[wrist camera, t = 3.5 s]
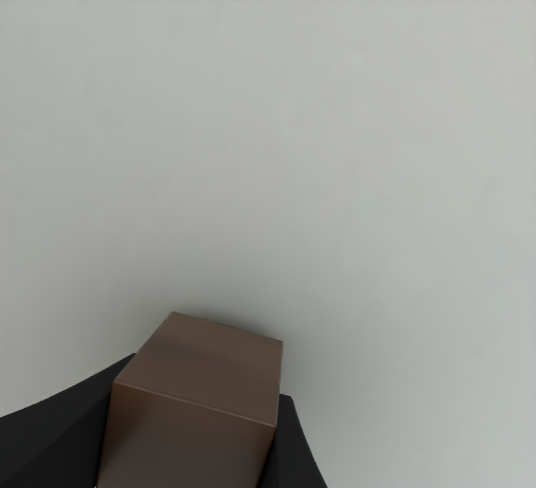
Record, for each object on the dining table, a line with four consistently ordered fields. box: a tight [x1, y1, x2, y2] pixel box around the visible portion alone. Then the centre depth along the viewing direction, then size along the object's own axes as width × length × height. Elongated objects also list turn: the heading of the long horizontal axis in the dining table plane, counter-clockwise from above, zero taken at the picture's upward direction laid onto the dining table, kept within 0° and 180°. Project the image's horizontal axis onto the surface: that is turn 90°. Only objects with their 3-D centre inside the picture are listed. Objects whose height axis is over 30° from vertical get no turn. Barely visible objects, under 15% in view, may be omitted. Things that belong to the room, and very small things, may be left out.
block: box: [96, 312, 283, 488], centre depth 10 cm, size 4×4×4 cm
